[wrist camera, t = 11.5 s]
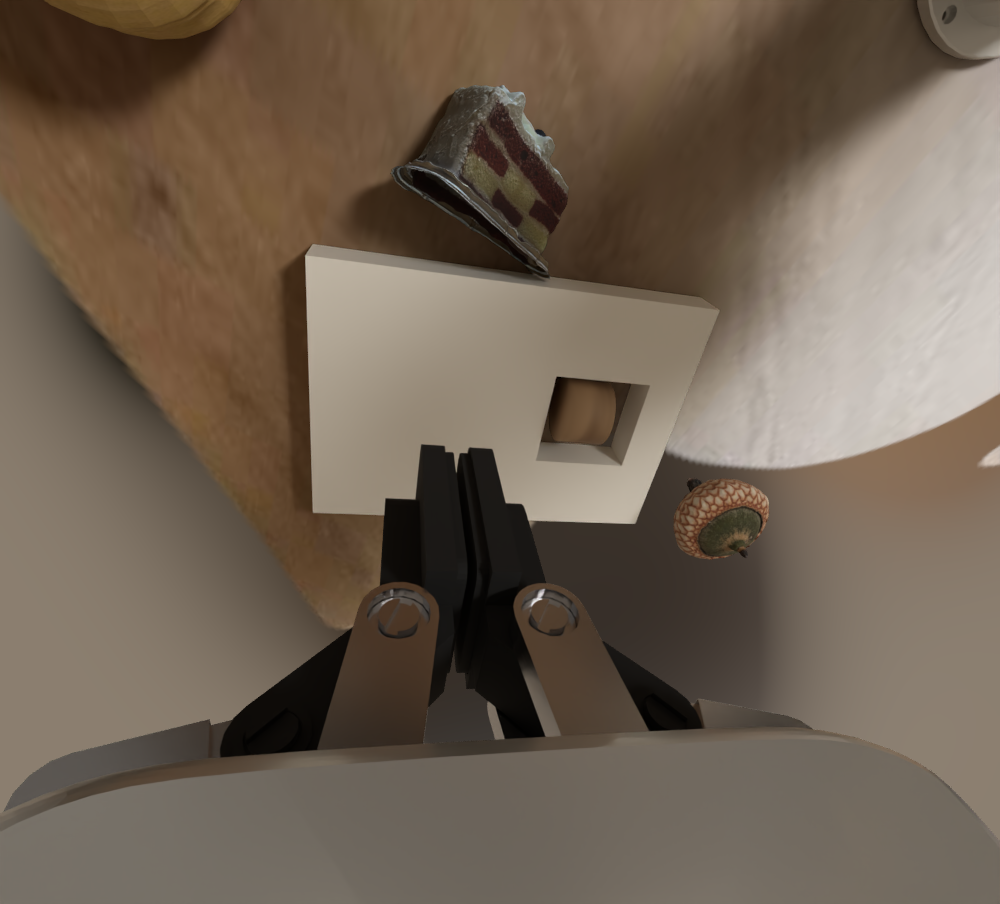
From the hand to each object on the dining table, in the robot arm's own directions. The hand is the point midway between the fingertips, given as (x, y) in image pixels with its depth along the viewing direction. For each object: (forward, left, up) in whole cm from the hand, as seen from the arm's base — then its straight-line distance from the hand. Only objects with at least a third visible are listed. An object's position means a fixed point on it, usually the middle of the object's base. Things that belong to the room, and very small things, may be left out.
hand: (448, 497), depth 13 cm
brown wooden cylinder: (-11, +10, -25) cm, 29 cm away
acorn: (-27, +18, -27) cm, 42 cm away
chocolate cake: (-5, -5, -28) cm, 28 cm away
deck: (-7, +11, -27) cm, 30 cm away
